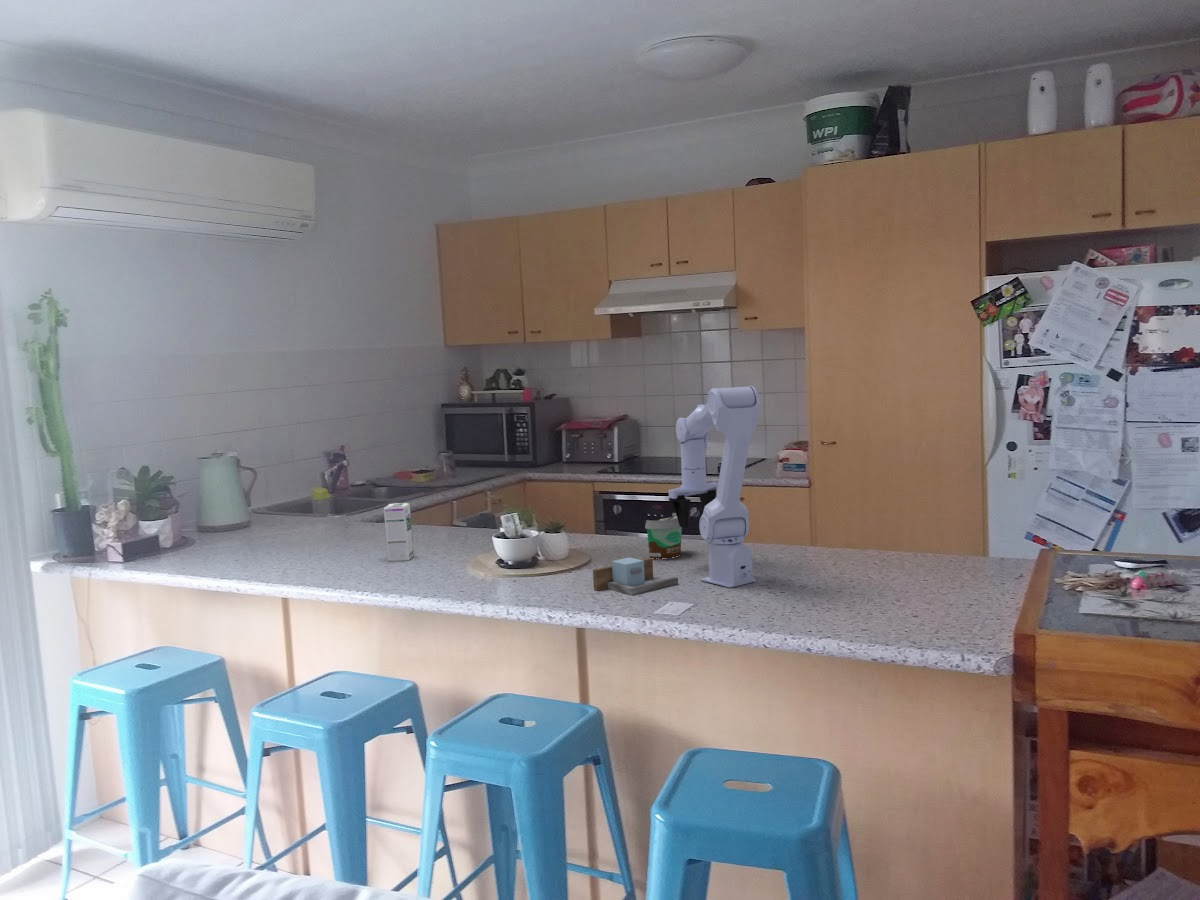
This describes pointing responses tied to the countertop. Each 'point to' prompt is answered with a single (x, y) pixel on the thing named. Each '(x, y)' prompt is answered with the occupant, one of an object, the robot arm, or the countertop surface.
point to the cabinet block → (628, 571)
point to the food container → (664, 537)
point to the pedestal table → (605, 580)
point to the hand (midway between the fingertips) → (695, 524)
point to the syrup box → (398, 532)
